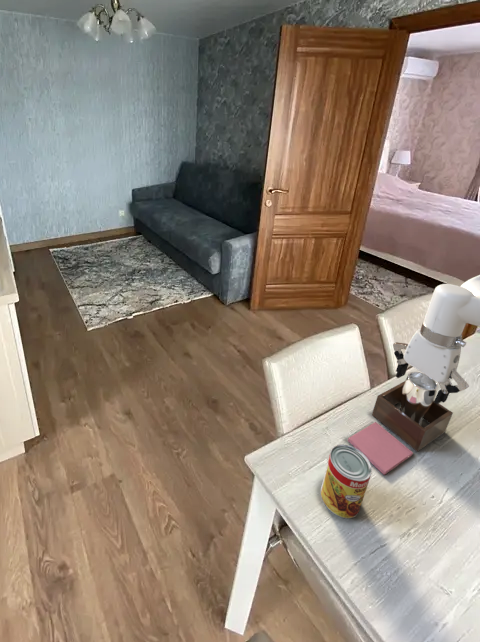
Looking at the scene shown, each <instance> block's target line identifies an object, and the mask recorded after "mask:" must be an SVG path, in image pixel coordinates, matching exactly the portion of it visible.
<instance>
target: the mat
mask: <svg viewBox="0 0 480 642" xmlns="http://www.w3.org/2000/svg"><path fill="white" fill-rule="evenodd" d="M347 442H348V443H349V444H351V446H352V447H354V448H356V449H358V450H359V451H360V452H362V453H363V454H364V455H365V456H366V457H367V459H368V460H369V462H370V464H371V465H373V466H374V467H375V468H376V469H377V470H378V471H379V472H380V473H381V474H382V475H384V476H385V475H387V474H388V473H390V472H391V471H392V470H394V469H395V468H396V467H398V466H400V465H401V464H402V463H404V462H405V461H406V460H408V459H409V458H411V457H412V456H413V455H414V452H413V451H412V450H410V449H409V448H408V447H407V445H405V444H403V443H402V442H401V441H400V440H398V439H397V438H396V437H395V436H394V435H392V434H391V433H390V432H389V431H388V430H387V429H385V428H384V427H383V426H382V425H380V424H379V423H378V422H377V421H375V422H372V423H371V424H370V425H368V426H366V427H365V428H363V429H361V430H360V431H358V432H356V433H354V434H352V435H351V436H350V437H348V438H347Z"/></svg>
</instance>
